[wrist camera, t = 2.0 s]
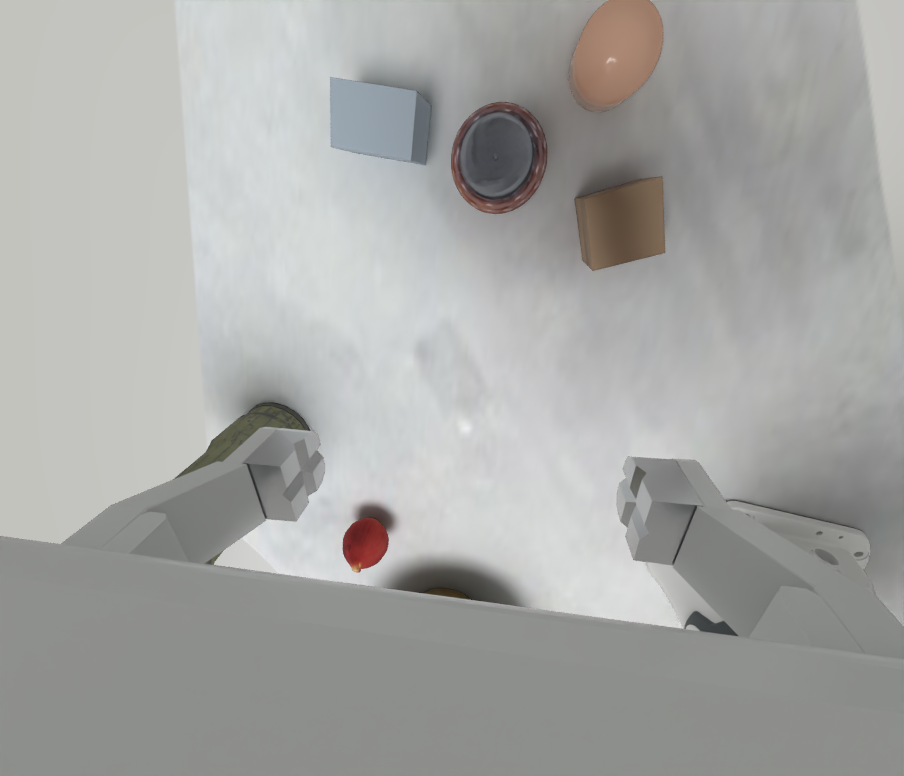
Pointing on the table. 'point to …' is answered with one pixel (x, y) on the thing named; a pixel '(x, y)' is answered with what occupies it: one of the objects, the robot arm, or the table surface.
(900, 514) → the table surface
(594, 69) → the peach rounded cylinder
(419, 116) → the slate block
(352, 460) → the table surface
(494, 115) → the supplement bottle
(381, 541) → the onion
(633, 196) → the walnut cube
